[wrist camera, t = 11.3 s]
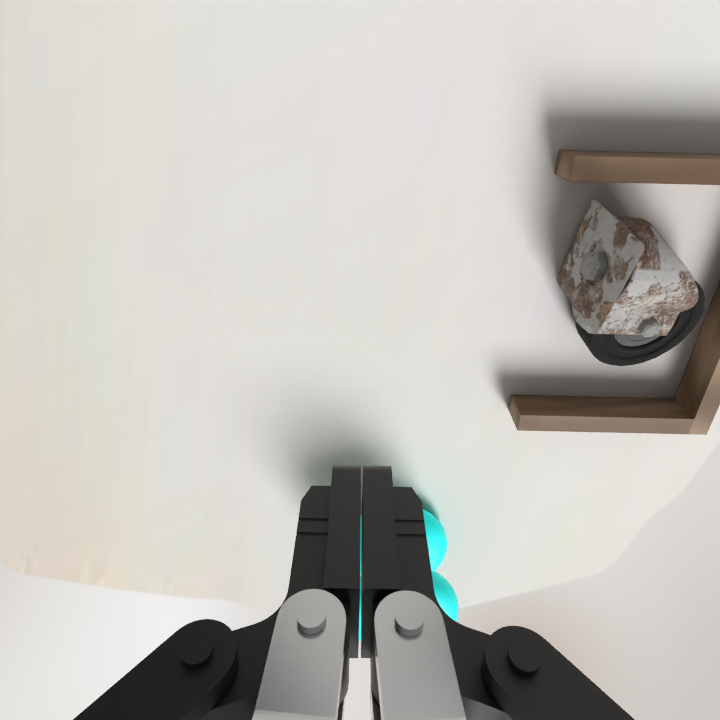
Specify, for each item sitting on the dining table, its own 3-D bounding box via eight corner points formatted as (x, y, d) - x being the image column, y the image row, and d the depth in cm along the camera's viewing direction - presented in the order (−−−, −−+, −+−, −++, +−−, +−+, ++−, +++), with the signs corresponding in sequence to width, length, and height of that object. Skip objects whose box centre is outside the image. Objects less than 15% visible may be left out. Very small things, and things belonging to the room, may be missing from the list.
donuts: (371, 572, 40) (482, 606, 42) (370, 484, 48) (462, 514, 50) (325, 643, 44) (427, 670, 46) (331, 550, 53) (417, 576, 55)
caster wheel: (636, 331, 43) (528, 328, 42) (713, 206, 36) (585, 196, 34) (682, 386, 38) (561, 385, 37) (782, 255, 31) (637, 245, 29)
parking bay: (559, 150, 34) (575, 156, 31) (790, 155, 34) (825, 161, 31) (508, 409, 44) (517, 430, 41) (686, 413, 44) (706, 434, 42)
